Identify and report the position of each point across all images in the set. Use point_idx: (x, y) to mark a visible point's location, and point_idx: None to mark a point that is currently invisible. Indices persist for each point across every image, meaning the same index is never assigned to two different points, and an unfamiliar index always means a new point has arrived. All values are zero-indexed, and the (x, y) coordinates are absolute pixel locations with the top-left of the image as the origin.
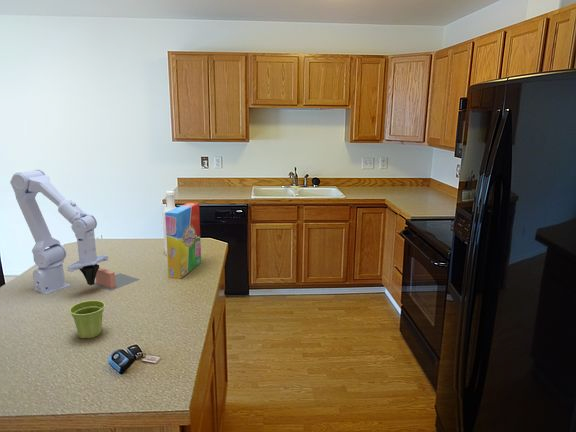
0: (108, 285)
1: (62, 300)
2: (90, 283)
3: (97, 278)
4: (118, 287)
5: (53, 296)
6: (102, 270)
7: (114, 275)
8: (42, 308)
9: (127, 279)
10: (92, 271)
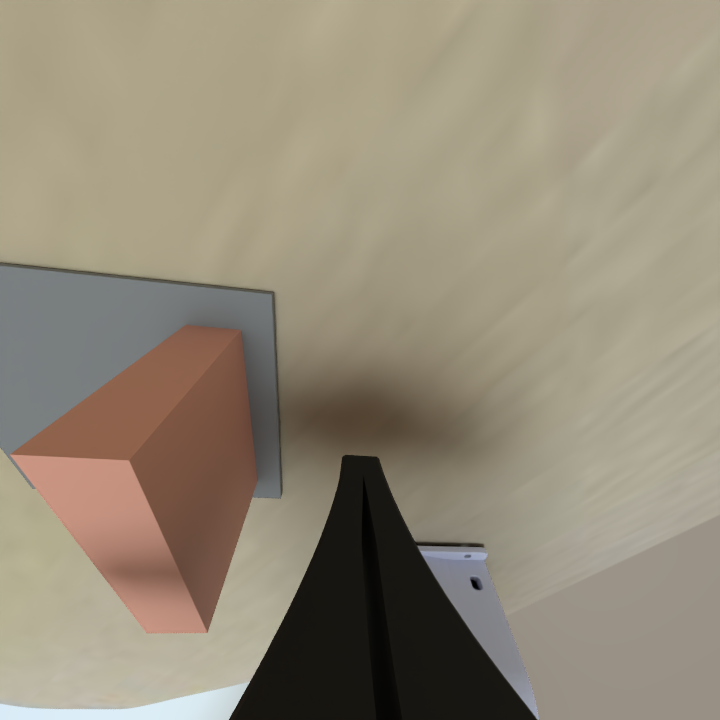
0: (235, 375)
1: (530, 456)
2: (382, 474)
3: (240, 512)
4: (171, 291)
5: (490, 516)
6: (162, 584)
7: (79, 407)
8: (647, 458)
9: (9, 365)
10: (397, 663)
